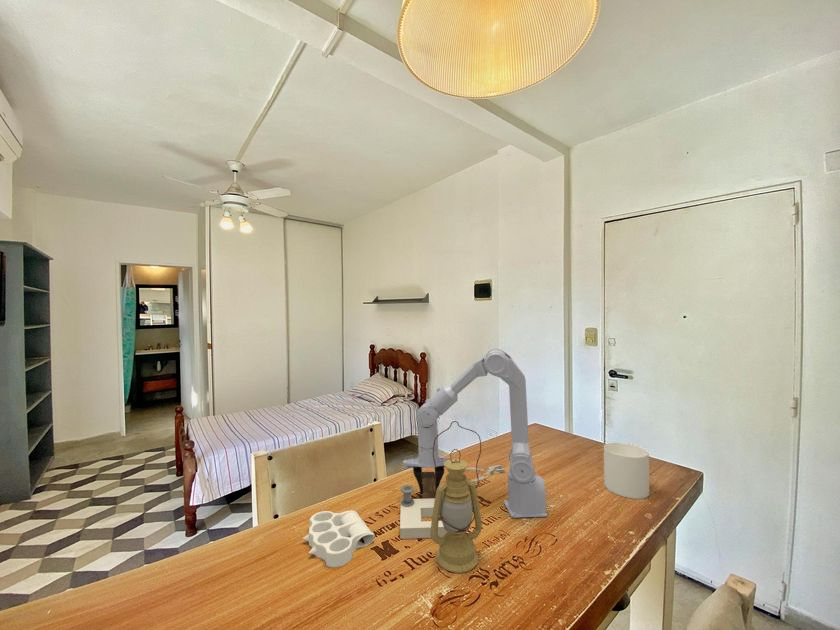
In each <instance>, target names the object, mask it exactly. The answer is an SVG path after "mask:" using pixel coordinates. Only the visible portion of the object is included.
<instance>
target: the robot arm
mask: <svg viewBox="0 0 840 630" xmlns="http://www.w3.org/2000/svg"><path fill="white" fill-rule="evenodd" d="M488 374H490V375H491V376H494V377H497V378H499V379H501V380H502V381H503V382H504V383H506V385H508V392H509V411H510V432H511V449H510V451H509V453H508V459H509V470H508V472H507V499H504V500H503V504H504V506H505V508H506V509H507V511H508V513H509V515H510V516H511V518H513V519H514V518H515V519H519V518H539V517H540V518H541V517H542V518H545V517H547V516H548V514H547V500H546V499H547V494H546V486H545V485H546V484H545V481H544V479H543V477H542V476H541V475H536V474H535V473H536V471H535V467H534V464H533V457H532V453H531V452H530V442H529V441H530V440H529V439H530V438H529V422H528V421H529V420H528V403H527V383H526V382H527V381H526V377H525V374H524V373H523V371H522V370H521V369H520V368H519V366H518V364H517V363H516V362H515V361H514V359H513V358H512V357H511V355H510V354H508V353H507V352H505V351H504V350H502V349H500V348H493V349H490V350H489V351H488V352H487V353H486V355H485V354H484V355H482V356H481V357H479V358H478V359H477V360H475V361H474V362H473V363H472V364H471V365H470V366H469V367H468V368H466V370H465V371H463V373H461V374H460V375H459V377H458V378H457V379H456V380H454V382H453V383H451V384H450V385H447V384H446V385H442V387H441V386H438V388H436V390H435V391H436V392H435V393H434V394H433V395H432V396H431V397H430V398H426V400H425V401H424V403H423V404H422V405H421V406H420V407H419V408H418V410H417V411H416V413H415V418H416V422H417V423H418V426H417V427H418V428H417V429H418V431H417V436H418V438H417V439H418V440H417V441H418V444H417V445H418V446H417V447H418V457H415V458H411V459H404V460H403V462H402V463H403V470H408V469H412V470H413V472H412V473H413V475H414V477H415V479H416V481H417V482H416V483H417V484H418V487H419V492H420V495H422V494H423V487H422V472H423V469H425V468H426V469H431V468H432V469H433V468H434V469H435V463H436V478H435V490H437V488H438V486H439V485H440V484H441V481H442V479H443V476H444V474H445V468H446V467H445V466H444V463H445V462H446V461H447V460H451V459H452V458H447V457H439V436H438V435H439V429H438V418H439V417H440V416H442V415H444V413H446V412H447V411H448V410H449V409H450V408H451V407H452V406H453V405H454V404H455V403H457V402H458V400H459V399H458V397H459V396H458V394H460V393H461V392H462V391H463V390H464V389H466V388H467V387H468V386H469V385H470V384H472V382H473V381H475V380H476V379H477V378H479V377H487V376H488ZM437 436H438V437H437ZM436 437H437V438H436ZM435 438H436V440H435ZM434 440H435V445H434ZM433 446H434V454H433ZM433 455H434V459H433ZM434 460H435V463H434Z"/></svg>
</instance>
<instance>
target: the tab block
mask: <svg viewBox="0 0 840 630" xmlns="http://www.w3.org/2000/svg"><path fill="white" fill-rule="evenodd" d="M434 478H435V471H422V487H423V494H421V495H422V499H430V498H435V494H436V490H435V481H434ZM433 481H434V485H433ZM432 486H433V490H434V492H435V494H434V492H433V490H432Z"/></svg>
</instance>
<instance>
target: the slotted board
mask: <svg viewBox="0 0 840 630" xmlns="http://www.w3.org/2000/svg"><path fill="white" fill-rule="evenodd" d="M414 490H415V487H414V486H413V485H409V484H406V485H403V486H401V487H400V492H401V493H403V499H400V512H399V513H400V521H399V540H400V539H401V540H406V539H408V540H409V539H411V540H412V539H432V538H431V522H432V520H428V521H422V518H432V514H433V508H434V502H435V498H430V499H423V498H412V493H413V492H414ZM439 518H441V516H440V515H439ZM446 533H447V531H446V530H445V528H444V526H443V523H442V521H441V520H439V523H438V536H439V537H443V536H444V535H445V534H446Z"/></svg>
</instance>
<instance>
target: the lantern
mask: <svg viewBox="0 0 840 630" xmlns="http://www.w3.org/2000/svg"><path fill="white" fill-rule="evenodd" d="M453 423H456V424H457V426H458V427H459V428H461V429H464V430H467V431H470V432H473V433H475V435H477V436H478V439H479V445H480V450H479V454H478V457H477V459H476V464H475V465H476V467H475V468H476V472H475V473H476V479H478V482H477V485H476V482H473V481H472V480H473V479H469V478H467V476H466V474H464V473H465V471H466V470H465V469H466V468H469V463H468V462H467V461H465V460H463V459H461V451H460V450H459V449H457V448H453V450H451V452H450V455H449V456H450V459H451V460H447V461H446V462H445V463H444V466H445V467H444V468H446V469H447V472H448V473H447V474H446V475H445V481H444V482H442V483H440V484H439V486H438V488H437V490H436V494H435V492H434V490H433V486H432V490H433V492H434V494H435V502H434V508H433V514H432V517H431V521H432V522H431V538H430V539H431V541H432V542H433V543H434V544H436V545H438V547H439V548H438V549H437V551H436V554H435V558H436V561H437V563H438V565H439V566H440V567H441V568H442V569H444V570H445V571H447V572H450V573H453V574H464V573H467V572H470V571H471V570H473V569H474V568H475V567H476V566H477V565H478V563H479V554H478V553H477V551H476V550H475V549H476V548H475V547H476V545H475V543H474V540H476V539H477V538H478V537H479V535H480V534H481V532H482V529H483V522H482V513H481V508H480V502H479V501H480V500H479V496H478V491H477V488H478V487H479V483H480V481H479V473H477V468H478V463H479V460H480V456H481V453H482V441H481V436H480V435H479V434H478V433H477V432H476V431H474V430H472V429H469V428H466V427H463V426H461V425H459V422H458V421H456V420H455V421H451V422H450V425H449V427H448V428H446V429H445V430H443V431H441V432H440V433H438V436H437V437H438V438H439V436H441V435H442V434H443V433H445V432H446V431H448V430H449V429H450V428H451V427H452V425H453ZM437 437H436V438H437ZM436 438H435V440H436ZM435 440H434V445H435ZM454 451H457V452H459V458H458V459H457V458H452V453H453V452H454ZM433 454H434V446H433ZM433 459H434V455H433ZM434 463H435V460H434ZM434 473H435V478H436V463H435V467H434ZM435 478H434V481H435ZM434 481H433V485H434ZM439 515H440V516H441V517H439ZM439 521H442V523H443V526H444V528H445V530H446V531H447V533H446V534H445V535H444V536H443V537H439V536H438V523H439ZM473 522H474V526H475V527H474V529H473V531H470V532H468V531H469V530H470V528H471V525H472V523H473Z"/></svg>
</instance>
